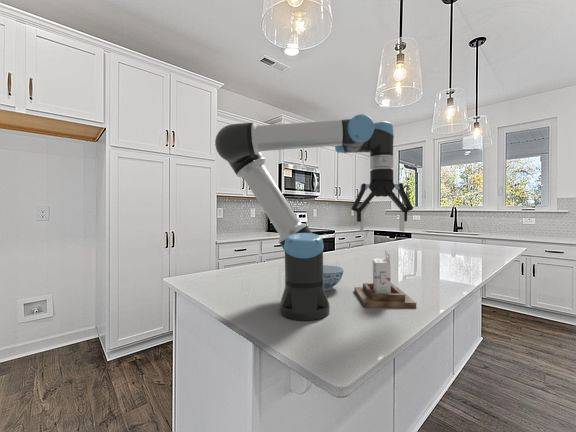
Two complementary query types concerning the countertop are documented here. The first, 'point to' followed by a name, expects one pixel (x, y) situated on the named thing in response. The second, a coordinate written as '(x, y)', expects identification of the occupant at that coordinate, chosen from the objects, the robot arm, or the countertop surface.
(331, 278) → the chinaware
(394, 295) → the walnut bay board
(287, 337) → the countertop surface
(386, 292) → the ink cartridge box
